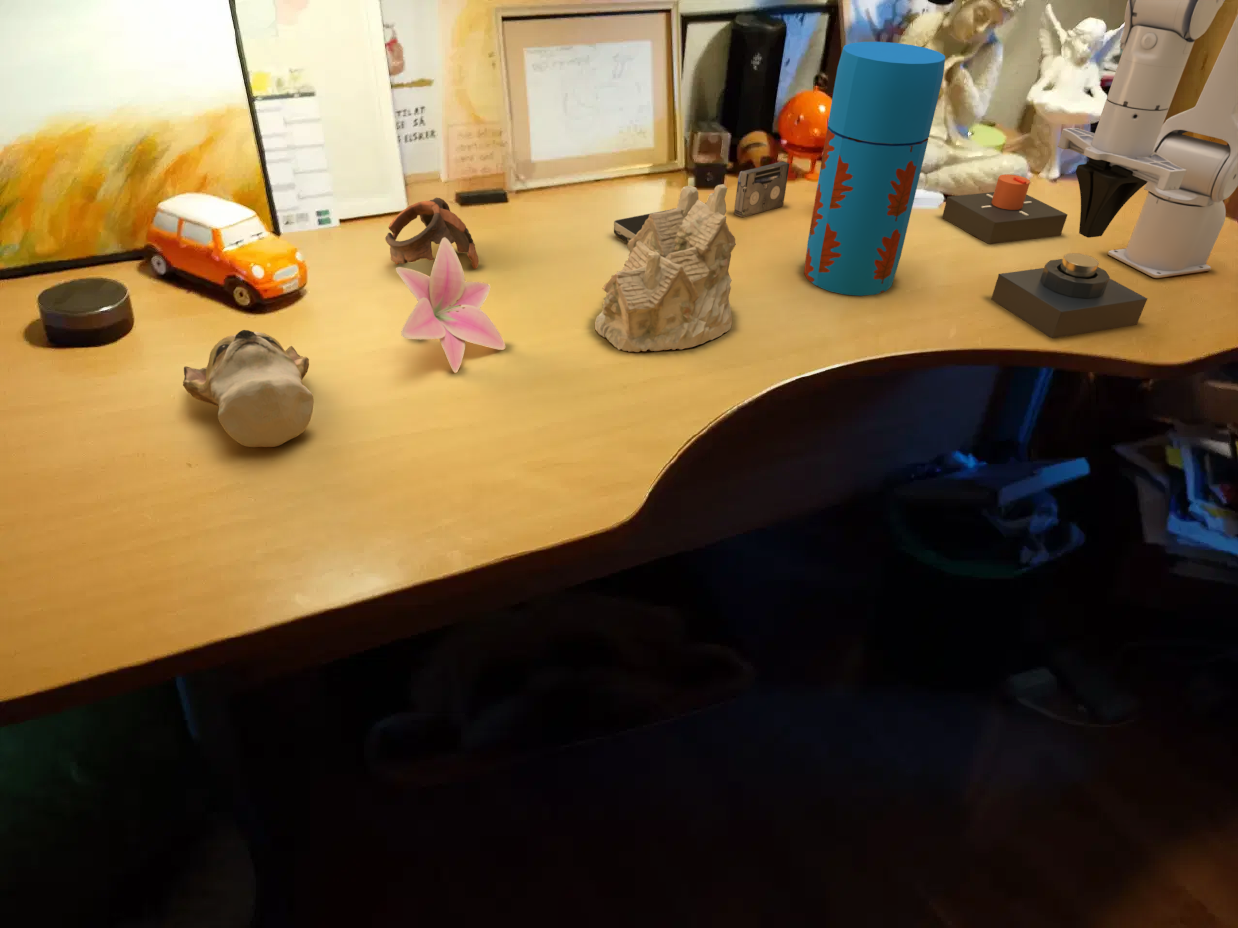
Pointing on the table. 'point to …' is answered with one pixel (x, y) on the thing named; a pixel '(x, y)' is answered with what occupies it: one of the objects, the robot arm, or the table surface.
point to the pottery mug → (429, 232)
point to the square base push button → (1067, 300)
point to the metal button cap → (1079, 266)
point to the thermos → (871, 164)
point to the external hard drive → (630, 226)
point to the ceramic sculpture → (254, 389)
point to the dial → (1010, 192)
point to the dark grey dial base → (1003, 218)
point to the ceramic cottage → (673, 279)
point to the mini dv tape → (761, 189)
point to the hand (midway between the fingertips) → (1090, 234)
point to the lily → (449, 307)
